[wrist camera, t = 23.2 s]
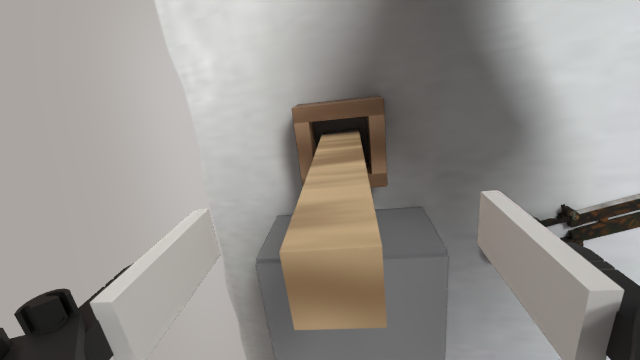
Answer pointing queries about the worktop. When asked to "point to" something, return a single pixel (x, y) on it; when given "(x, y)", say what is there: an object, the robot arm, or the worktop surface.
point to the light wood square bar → (335, 242)
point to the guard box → (400, 296)
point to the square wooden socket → (340, 110)
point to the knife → (602, 215)
